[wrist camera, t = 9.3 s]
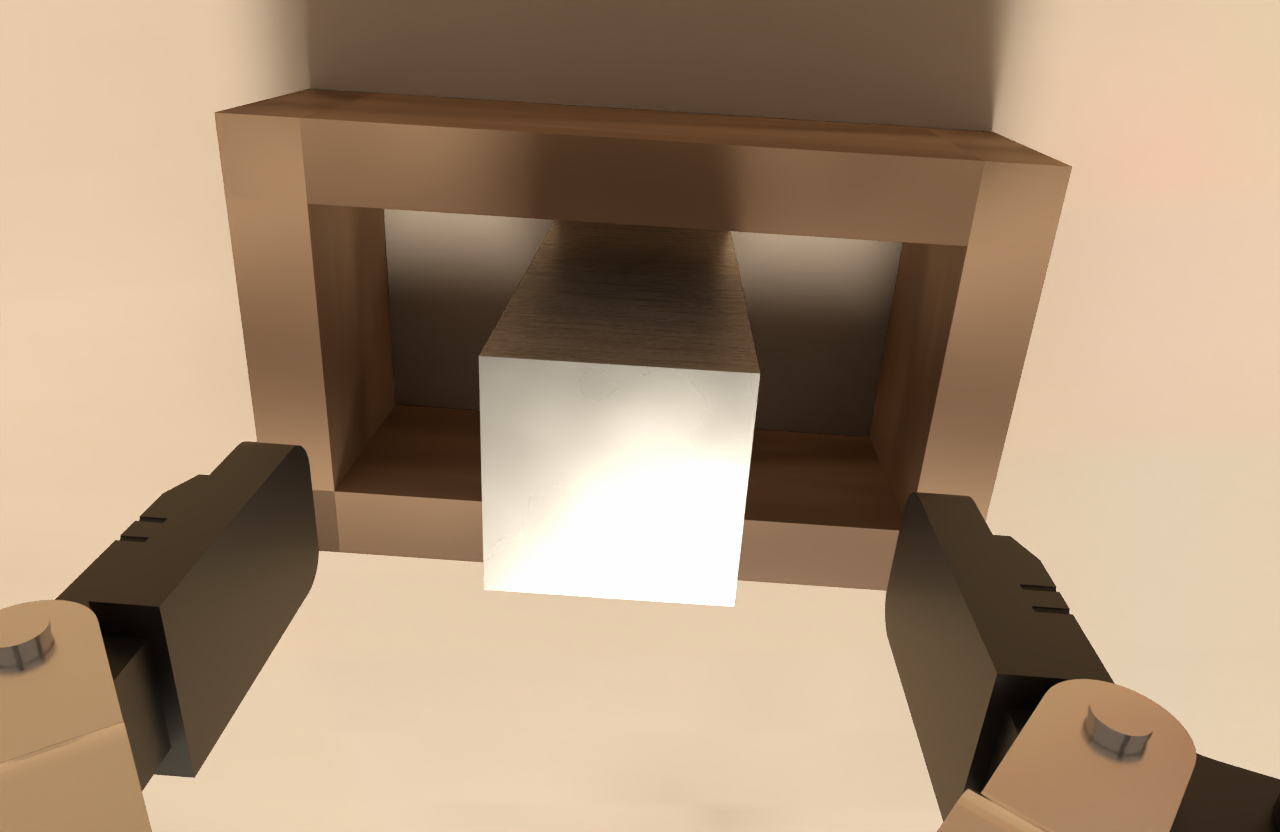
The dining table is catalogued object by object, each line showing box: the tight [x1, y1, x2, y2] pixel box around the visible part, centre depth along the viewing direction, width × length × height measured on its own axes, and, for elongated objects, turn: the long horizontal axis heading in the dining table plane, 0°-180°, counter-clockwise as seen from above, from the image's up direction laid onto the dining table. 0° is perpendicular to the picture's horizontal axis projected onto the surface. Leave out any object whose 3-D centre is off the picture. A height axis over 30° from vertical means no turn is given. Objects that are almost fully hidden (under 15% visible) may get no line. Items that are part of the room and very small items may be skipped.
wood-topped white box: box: [479, 220, 760, 606], centre depth 18 cm, size 4×4×9 cm
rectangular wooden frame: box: [215, 89, 1072, 591], centre depth 20 cm, size 9×15×4 cm, turn 87°
